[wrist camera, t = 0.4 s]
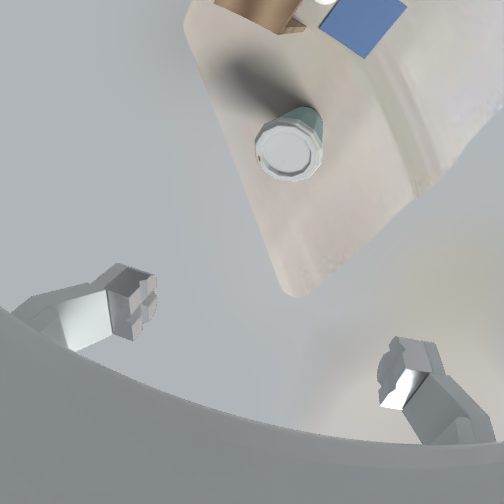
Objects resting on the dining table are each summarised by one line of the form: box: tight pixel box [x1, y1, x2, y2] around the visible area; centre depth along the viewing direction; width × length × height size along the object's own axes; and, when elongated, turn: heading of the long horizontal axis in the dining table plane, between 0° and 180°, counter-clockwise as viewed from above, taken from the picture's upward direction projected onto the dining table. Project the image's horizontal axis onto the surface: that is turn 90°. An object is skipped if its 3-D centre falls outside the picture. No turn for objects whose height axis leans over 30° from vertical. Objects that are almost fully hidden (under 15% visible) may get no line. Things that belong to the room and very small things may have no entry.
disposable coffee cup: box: [255, 106, 323, 182], centre depth 48 cm, size 11×11×15 cm
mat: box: [319, 0, 407, 59], centre depth 35 cm, size 9×13×1 cm
